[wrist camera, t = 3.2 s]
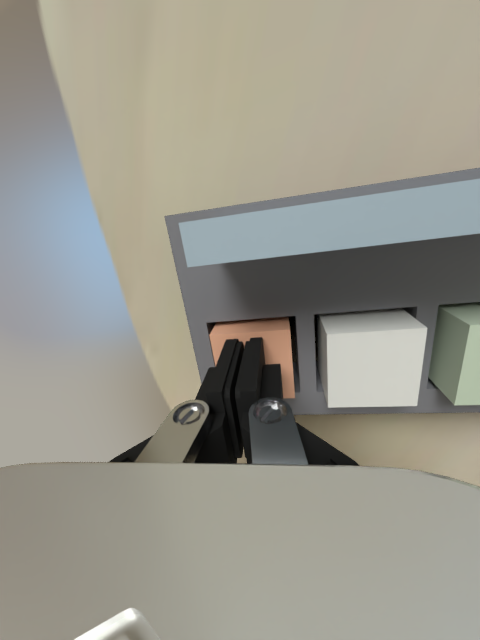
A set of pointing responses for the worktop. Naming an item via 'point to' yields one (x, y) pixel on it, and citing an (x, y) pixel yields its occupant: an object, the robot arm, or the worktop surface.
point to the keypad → (333, 267)
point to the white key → (370, 357)
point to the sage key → (457, 353)
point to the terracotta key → (273, 342)
